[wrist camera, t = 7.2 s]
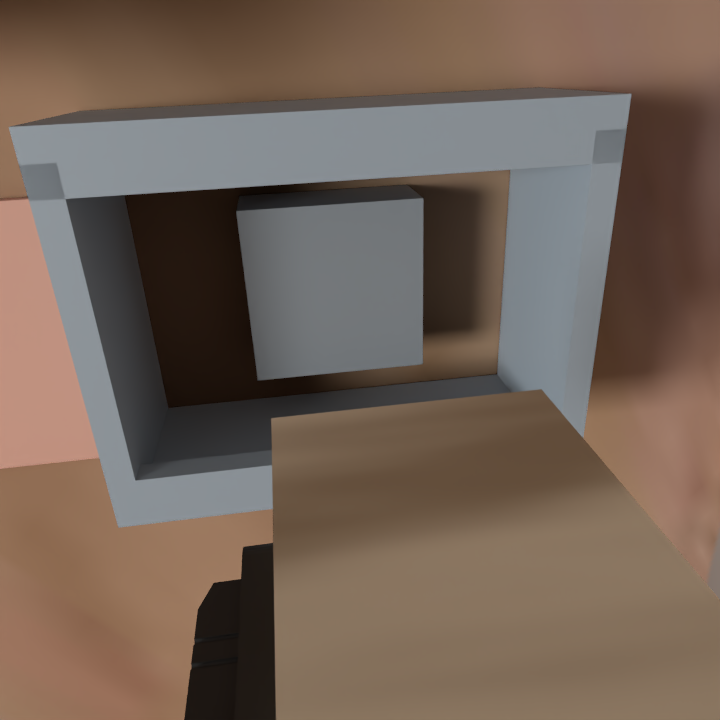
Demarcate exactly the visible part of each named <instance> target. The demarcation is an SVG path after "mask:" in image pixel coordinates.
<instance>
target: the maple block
mask: <svg viewBox="0 0 720 720" xmlns="http://www.w3.org/2000/svg"><path fill="white" fill-rule="evenodd" d="M271 430H272V495H273V559H274V624H275V689H276V720H720V599H719V598H718V597H717V596H716V595H715V593H714V592H713V591H712V590H711V589H710V588H709V586H708V585H707V584H706V583H705V582H704V580H703V579H702V578H701V577H700V576H699V575H698V573H697V572H696V571H695V570H694V569H693V567H692V566H691V565H690V564H689V563H688V562H687V560H686V559H685V558H684V557H683V556H682V554H681V553H680V552H679V551H678V550H677V549H676V547H675V546H674V545H673V544H672V543H671V541H670V540H669V539H668V538H667V537H666V536H665V534H664V533H663V532H662V531H661V530H660V528H659V527H658V526H657V525H656V524H655V523H654V521H653V520H652V519H651V518H650V517H649V516H648V514H647V513H646V512H645V511H644V510H643V508H642V507H641V506H640V505H639V504H638V503H637V501H636V500H635V499H634V498H633V497H632V495H631V494H630V493H629V492H628V491H627V490H626V488H625V487H624V486H623V485H622V484H621V482H620V481H619V480H618V479H617V478H616V477H615V475H614V474H613V473H612V472H611V471H610V469H609V468H608V467H607V466H606V465H605V464H604V462H603V461H602V460H601V459H600V458H599V456H598V455H597V454H596V453H595V452H594V451H593V449H592V448H591V447H590V446H589V445H588V443H587V442H586V441H585V440H584V439H583V438H582V436H581V435H580V434H579V433H578V432H577V430H576V429H575V428H574V427H573V426H572V425H571V423H570V422H569V421H568V420H567V419H566V418H565V416H564V415H563V414H562V413H561V412H560V410H559V409H558V408H557V407H556V406H555V405H554V403H553V402H552V401H551V400H550V399H549V397H548V396H547V395H546V394H545V393H544V392H543V390H542V389H539V390H529V391H520V392H511V393H501V394H492V395H483V396H474V397H464V398H455V399H446V400H436V401H427V402H418V403H408V404H399V405H390V406H380V407H371V408H362V409H352V410H343V411H334V412H325V413H315V414H306V415H297V416H287V417H278V418H271Z"/></svg>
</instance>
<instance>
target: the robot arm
mask: <svg viewBox="0 0 720 720" xmlns="http://www.w3.org/2000/svg"><path fill="white" fill-rule="evenodd" d="M194 639H195V645H194V646H193V654H192V662H191V664H192V670H190V679H189V687H188V695H187V703H186V711H185V719H184V720H276V689H275V624H274V559H273V543H270V544H262V545H254V546H247V547H243V554H242V574H241V579H239V580H232V581H224V582H217V583H213V585H212V587H211V589H210V590H209V592H208V594H207V595H206V597H205V599H204V600H203V602H202V604H201V605H200V607H199V609H198V614H197V622H196V630H195V638H194Z"/></svg>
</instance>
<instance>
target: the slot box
mask: <svg viewBox="0 0 720 720" xmlns="http://www.w3.org/2000/svg"><path fill="white" fill-rule="evenodd" d="M630 101H631V94H628V93H613V92H598V91H584V90H569V89H554V88H520V89H500V90H481V91H461V92H441V93H422V94H402V95H383V96H363V97H344V98H324V99H305V100H285V101H266V102H246V103H227V104H207V105H188V106H168V107H149V108H129V109H110V110H90V111H77V112H73V113H68V114H64V115H60V116H55V117H51V118H46V119H42V120H37V121H33V122H28V123H24V124H20V125H15V126H11V127H9V130H10V134H11V137H12V141H13V145H14V148H15V152H16V155H17V159H18V163H19V166H20V170H21V174H22V177H23V181H24V185H25V188H26V192H27V196H28V199H29V203H30V207H31V210H32V214H33V217H34V221H35V225H36V228H37V232H38V236H39V239H40V243H41V247H42V250H43V254H44V258H45V261H46V265H47V269H48V272H49V276H50V279H51V283H52V287H53V290H54V294H55V298H56V301H57V305H58V309H59V312H60V316H61V320H62V323H63V327H64V331H65V334H66V338H67V341H68V345H69V349H70V352H71V356H72V360H73V363H74V367H75V371H76V374H77V378H78V382H79V385H80V389H81V393H82V396H83V400H84V403H85V407H86V411H87V414H88V418H89V422H90V425H91V429H92V433H93V436H94V440H95V444H96V447H97V451H98V455H99V458H100V462H101V465H102V469H103V473H104V476H105V480H106V484H107V487H108V491H109V495H110V498H111V502H112V506H113V509H114V513H115V517H116V520H117V524H118V527H127V526H135V525H144V524H152V523H160V522H168V521H176V520H185V519H193V518H201V517H209V516H217V515H226V514H234V513H242V512H250V511H259V510H267V509H273V495H272V430H271V418H278V417H287V416H297V415H306V414H315V413H325V412H334V411H343V410H352V409H362V408H371V407H380V406H390V405H399V404H408V403H418V402H427V401H436V400H446V399H455V398H464V397H474V396H483V395H492V394H501V393H511V392H520V391H529V390H539V389H542V390H543V392H544V393H545V394H546V395H547V396H548V397H549V399H550V400H551V401H552V402H553V403H554V405H555V406H556V407H557V408H558V409H559V410H560V412H561V413H562V414H563V415H564V416H565V418H566V419H567V420H568V421H569V422H570V423H571V425H572V426H573V427H574V428H575V429H576V430H577V432H578V433H579V434H580V435H581V436H582V438H583V436H584V428H585V421H586V414H587V407H588V400H589V393H590V386H591V379H592V372H593V364H594V357H595V350H596V343H597V336H598V329H599V322H600V315H601V308H602V300H603V293H604V286H605V279H606V272H607V265H608V258H609V251H610V244H611V236H612V229H613V222H614V215H615V208H616V201H617V194H618V187H619V179H620V172H621V165H622V158H623V151H624V144H625V137H626V130H627V123H628V115H629V108H630ZM497 170H510V183H509V199H508V215H507V230H506V246H505V261H504V277H503V292H502V308H501V323H500V339H499V355H498V370H497V374H495V375H486V376H476V377H466V378H456V379H447V380H437V381H427V382H417V383H408V384H398V385H388V386H378V387H369V388H359V389H349V390H339V391H330V392H320V393H310V394H300V395H291V396H281V397H271V398H261V399H252V400H242V401H232V402H222V403H213V404H203V405H193V406H183V407H174V408H168V404H167V400H166V395H165V390H164V385H163V380H162V375H161V370H160V366H159V361H158V356H157V351H156V346H155V341H154V336H153V332H152V327H151V322H150V317H149V312H148V307H147V302H146V298H145V293H144V288H143V283H142V278H141V273H140V269H139V264H138V259H137V254H136V249H135V244H134V239H133V235H132V230H131V225H130V220H129V215H128V210H127V205H126V201H125V196H124V195H133V194H148V193H163V192H178V191H193V190H209V189H224V188H239V187H254V186H269V185H285V184H300V183H315V182H330V181H345V180H361V179H376V178H391V177H406V176H421V175H436V174H452V173H467V172H482V171H497ZM236 215H237V222H238V230H239V238H240V246H241V253H242V261H243V269H244V277H245V284H246V292H247V300H248V308H249V315H250V323H251V331H252V339H253V346H254V354H255V362H256V370H257V377H258V381H259V380H269V379H279V378H289V377H299V376H309V375H319V374H329V373H339V372H349V371H359V370H369V369H379V368H390V367H400V366H410V365H420V364H423V197H421V196H420V195H419V194H418V193H417V192H415V191H414V190H413V189H412V188H410V187H409V186H408V185H395V186H380V187H365V188H350V189H335V190H320V191H306V192H291V193H276V194H261V195H246V196H239V200H238V205H237V209H236Z"/></svg>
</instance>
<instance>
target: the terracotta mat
mask: <svg viewBox="0 0 720 720" xmlns="http://www.w3.org/2000/svg"><path fill="white" fill-rule="evenodd" d="M93 458H99V455H98V451H97V447H96V444H95V440H94V436H93V433H92V429H91V425H90V422H89V418H88V414H87V411H86V407H85V403H84V400H83V396H82V393H81V389H80V385H79V382H78V378H77V374H76V371H75V367H74V363H73V360H72V356H71V352H70V349H69V345H68V341H67V338H66V334H65V331H64V327H63V323H62V320H61V316H60V312H59V309H58V305H57V301H56V298H55V294H54V290H53V287H52V283H51V279H50V276H49V272H48V269H47V265H46V261H45V258H44V254H43V250H42V247H41V243H40V239H39V236H38V232H37V228H36V225H35V221H34V217H33V214H32V210H31V207H30V203H29V199H28V197H22V198H6V199H0V469H1V468H11V467H20V466H29V465H38V464H47V463H56V462H65V461H74V460H83V459H93Z"/></svg>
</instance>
